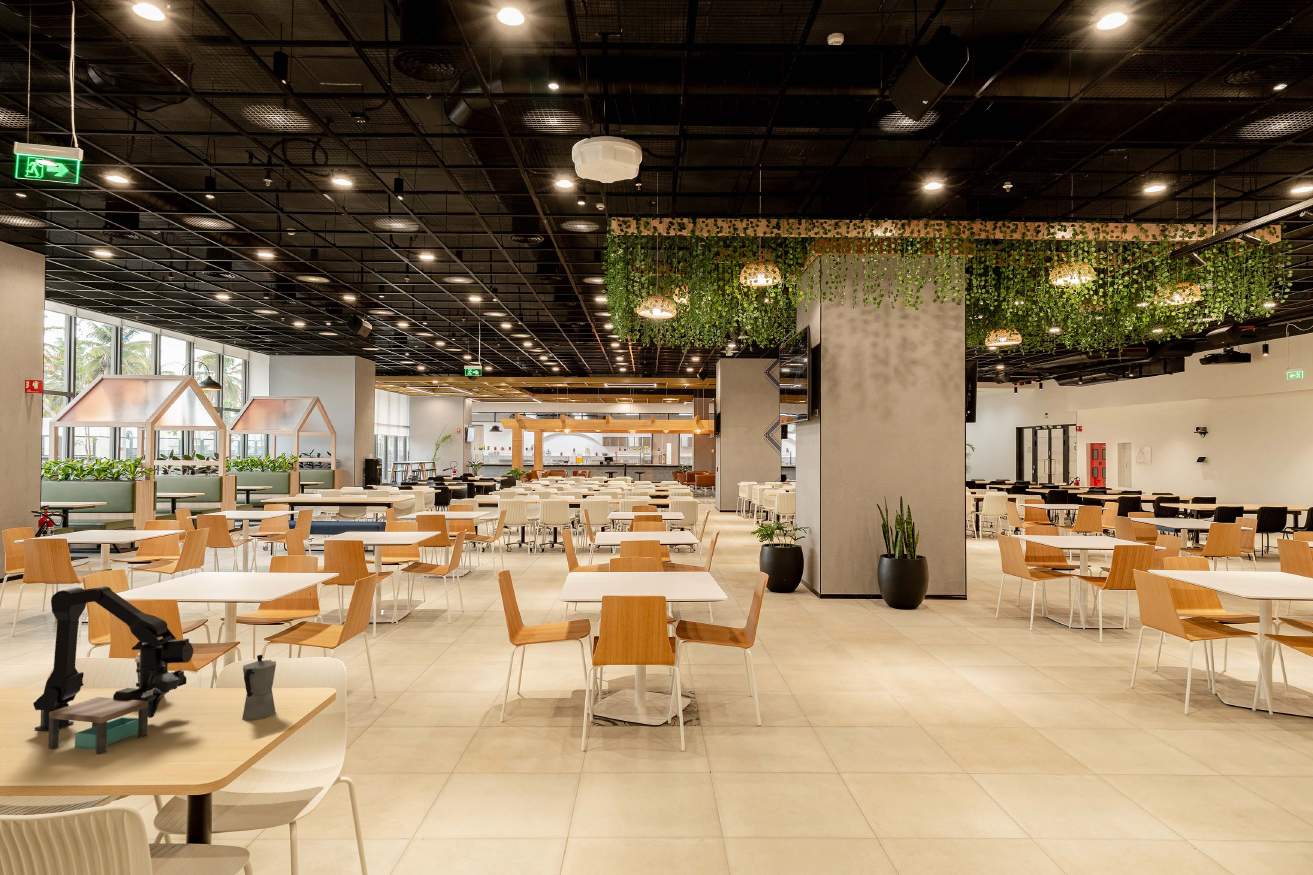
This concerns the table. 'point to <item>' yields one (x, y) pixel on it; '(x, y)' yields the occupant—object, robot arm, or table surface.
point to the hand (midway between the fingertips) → (150, 717)
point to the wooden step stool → (98, 718)
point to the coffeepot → (259, 689)
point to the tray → (115, 732)
